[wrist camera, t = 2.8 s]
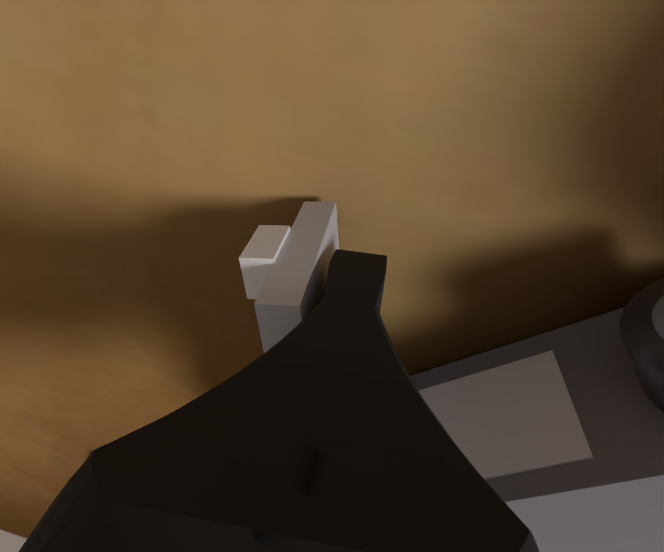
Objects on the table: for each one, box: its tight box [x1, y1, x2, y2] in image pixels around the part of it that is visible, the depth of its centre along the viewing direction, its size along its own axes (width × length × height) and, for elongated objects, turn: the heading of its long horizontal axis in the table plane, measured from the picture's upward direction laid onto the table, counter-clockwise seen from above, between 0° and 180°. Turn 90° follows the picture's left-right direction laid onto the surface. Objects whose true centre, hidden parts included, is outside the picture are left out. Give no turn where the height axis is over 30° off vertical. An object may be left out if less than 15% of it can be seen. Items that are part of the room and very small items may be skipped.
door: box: [239, 202, 339, 353], centre depth 11 cm, size 8×2×5 cm, turn 4°
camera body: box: [410, 278, 664, 552], centre depth 12 cm, size 9×12×5 cm
